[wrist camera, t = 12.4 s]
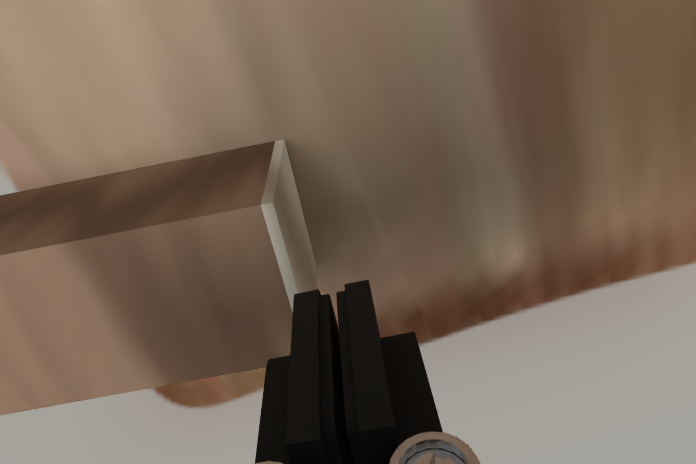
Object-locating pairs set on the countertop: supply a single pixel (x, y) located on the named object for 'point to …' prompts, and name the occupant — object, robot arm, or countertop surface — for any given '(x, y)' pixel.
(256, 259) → the walnut block
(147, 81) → the countertop surface
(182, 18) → the countertop surface
